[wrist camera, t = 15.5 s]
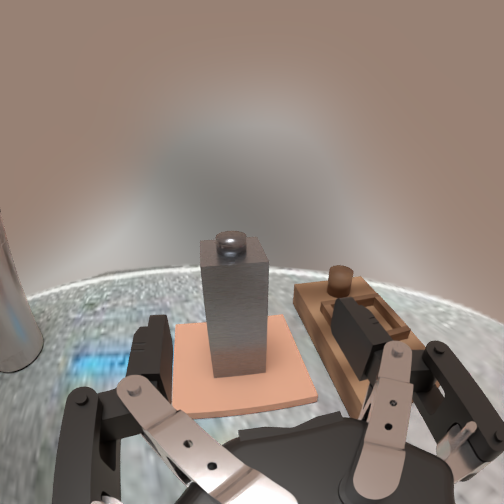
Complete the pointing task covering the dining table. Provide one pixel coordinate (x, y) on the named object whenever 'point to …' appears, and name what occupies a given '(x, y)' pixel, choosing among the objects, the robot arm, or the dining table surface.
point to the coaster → (238, 387)
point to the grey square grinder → (235, 303)
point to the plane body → (319, 329)
